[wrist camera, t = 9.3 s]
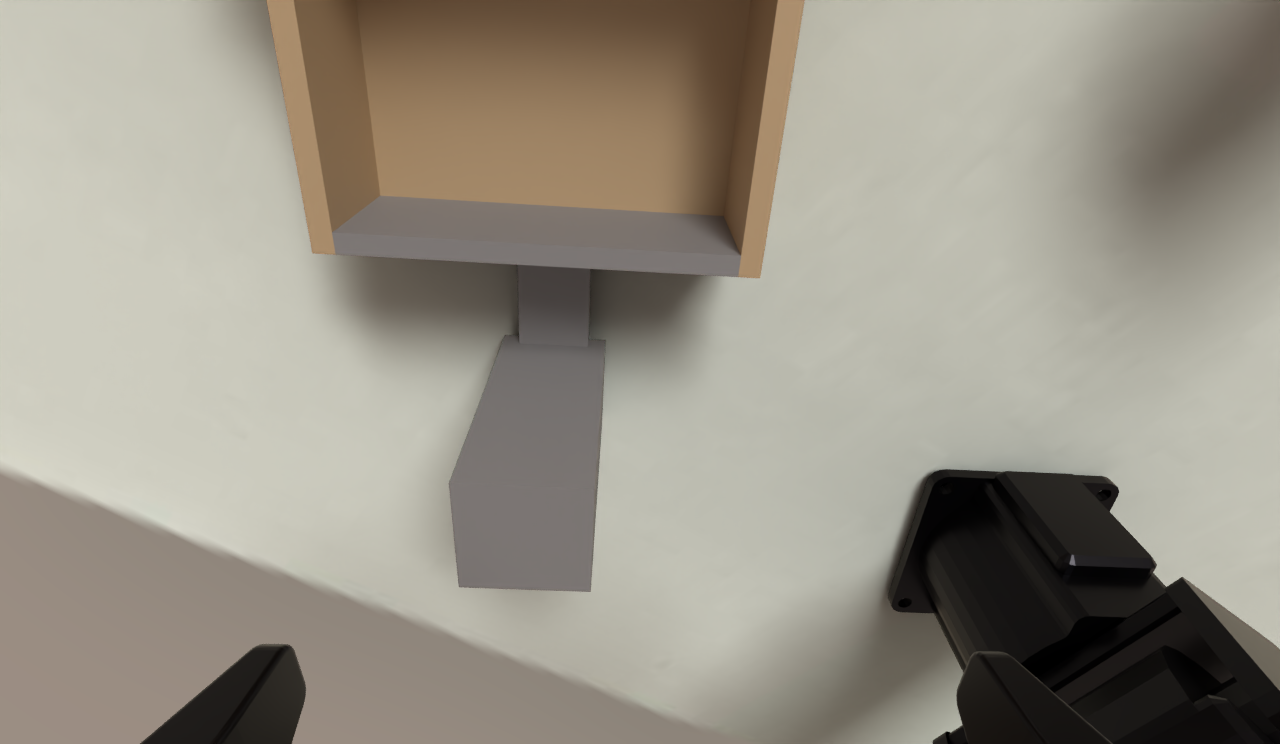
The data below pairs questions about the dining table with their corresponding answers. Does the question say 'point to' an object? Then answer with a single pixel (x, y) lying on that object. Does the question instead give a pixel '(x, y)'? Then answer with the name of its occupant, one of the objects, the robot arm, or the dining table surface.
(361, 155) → the inner tray
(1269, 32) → the dining table surface
